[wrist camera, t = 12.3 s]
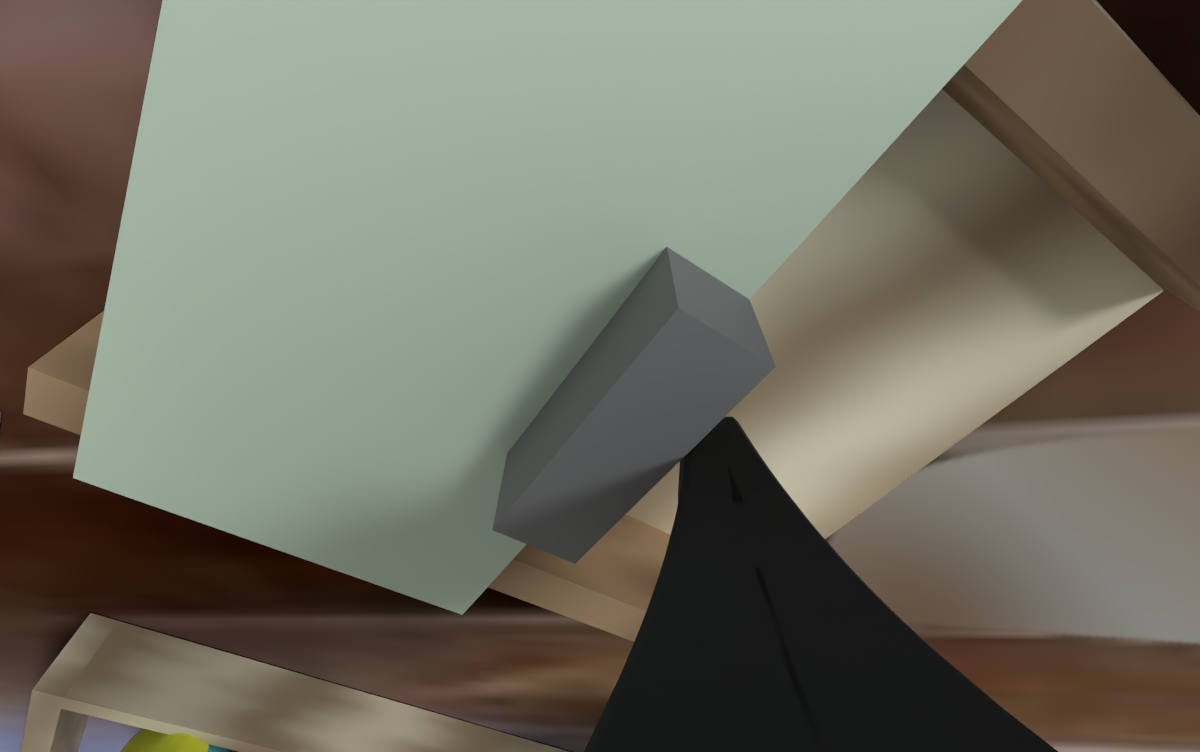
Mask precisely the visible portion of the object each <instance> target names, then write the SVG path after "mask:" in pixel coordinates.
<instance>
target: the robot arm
mask: <svg viewBox="0 0 1200 752" xmlns="http://www.w3.org/2000/svg"><path fill="white" fill-rule="evenodd" d="M584 752H1058V751H1057V750H1055V749H1054V748H1053V747H1051V746H1050V745H1049V744H1048V743H1046V742H1045V741H1044V740H1042V739H1041V738H1040V737H1039V736H1037V735H1036V734H1035V733H1033V732H1032V731H1031V730H1030V729H1028V728H1027V727H1026V726H1024V725H1023V724H1022V723H1021V722H1019V721H1018V720H1017V719H1015V718H1014V717H1013V716H1012V715H1010V714H1009V713H1008V712H1007V711H1005V710H1004V709H1003V708H1002V707H1000V706H999V705H998V704H997V703H996V702H995V701H993V700H992V699H991V698H990V697H989V696H988V695H986V694H985V693H984V692H983V691H982V690H980V689H979V688H978V687H977V686H976V685H975V684H973V683H972V682H971V681H970V680H969V679H968V678H966V677H965V676H964V675H963V674H962V673H961V672H959V671H958V670H957V669H956V668H955V667H953V666H952V665H951V664H950V663H949V662H948V661H946V660H945V659H944V658H943V657H942V656H941V655H939V654H938V653H937V652H936V651H935V650H933V649H932V648H931V647H930V646H929V645H928V644H927V643H926V642H925V641H924V640H923V639H922V638H920V637H919V636H918V635H917V634H916V633H915V632H914V631H913V630H912V629H911V628H910V627H909V626H908V625H907V624H906V623H904V622H903V621H902V620H901V619H900V618H899V617H898V616H897V615H896V614H895V613H894V612H893V611H892V610H891V609H890V608H889V607H888V606H887V605H886V604H885V603H884V602H883V601H882V600H881V599H880V598H879V597H878V596H877V595H876V594H875V593H874V592H873V591H872V590H871V589H870V588H869V587H868V586H867V585H866V584H865V583H864V582H863V581H862V580H861V579H860V578H859V577H858V576H857V575H856V574H855V572H854V571H853V570H852V569H851V568H850V567H849V566H848V565H847V564H846V563H845V562H844V560H843V559H842V558H841V557H840V556H839V555H838V554H837V553H836V552H835V550H834V549H833V548H832V547H831V546H830V545H829V543H828V542H827V541H826V540H825V539H824V538H823V537H822V535H821V534H820V533H819V532H818V531H817V529H816V528H815V527H814V526H813V525H812V523H811V522H810V521H809V520H808V519H807V517H806V516H805V515H804V514H803V512H802V511H801V510H800V508H799V507H798V506H797V505H796V503H795V502H794V501H793V500H792V498H791V497H790V496H789V494H788V493H787V492H786V491H785V489H784V488H783V487H782V485H781V484H780V483H779V481H778V480H777V479H776V477H775V476H774V474H773V473H772V472H771V470H770V469H769V467H768V466H767V465H766V463H765V462H764V460H763V459H762V458H761V456H760V455H759V453H758V452H757V450H756V449H755V447H754V446H753V444H752V443H751V441H750V440H749V438H748V437H747V435H746V433H745V432H744V430H743V429H742V427H741V425H740V424H739V422H738V421H737V420H736V419H735V418H734V417H724V418H723V419H722V420H721V421H720V422H719V423H718V424H717V425H716V426H715V427H714V428H713V429H712V430H711V431H710V432H709V433H708V434H707V435H706V436H705V437H704V438H703V439H702V440H701V441H700V442H699V443H698V444H697V445H696V446H695V447H694V448H693V449H692V450H691V451H690V452H689V453H688V454H687V455H686V456H685V457H684V458H683V459H681V460H680V469H679V484H678V506H677V511H676V516H675V520H674V524H673V527H672V531H671V535H670V539H669V542H668V546H667V550H666V554H665V557H664V561H663V564H662V567H661V570H660V573H659V576H658V579H657V583H656V586H655V588H654V591H653V594H652V597H651V600H650V603H649V605H648V608H647V611H646V614H645V616H644V619H643V621H642V624H641V626H640V629H639V631H638V634H637V637H636V639H635V642H634V644H633V647H632V649H631V652H630V654H629V656H628V659H627V661H626V663H625V666H624V668H623V670H622V673H621V675H620V677H619V679H618V682H617V684H616V686H615V688H614V690H613V692H612V694H611V696H610V699H609V701H608V703H607V705H606V707H605V709H604V711H603V713H602V715H601V718H600V720H599V722H598V724H597V726H596V728H595V730H594V732H593V735H592V737H591V739H590V741H589V743H588V745H587V747H586V749H585V751H584Z"/></svg>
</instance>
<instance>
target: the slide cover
mask: <svg viewBox="0 0 1200 752" xmlns="http://www.w3.org/2000/svg"><path fill="white" fill-rule="evenodd" d="M1021 1H1022V0H163V1H162V7H161V12H160V17H159V23H158V28H157V33H156V39H155V44H154V49H153V55H152V60H151V65H150V71H149V76H148V81H147V86H146V92H145V97H144V102H143V108H142V113H141V118H140V124H139V129H138V134H137V140H136V145H135V150H134V156H133V161H132V166H131V172H130V177H129V182H128V187H127V193H126V198H125V203H124V209H123V214H122V219H121V225H120V230H119V235H118V241H117V246H116V251H115V257H114V262H113V267H112V272H111V278H110V283H109V288H108V294H107V299H106V304H105V310H104V315H103V320H102V326H101V331H100V336H99V342H98V347H97V352H96V358H95V363H94V368H93V373H92V379H91V384H90V389H89V395H88V400H87V405H86V411H85V416H84V421H83V427H82V432H81V437H80V443H79V448H78V453H77V459H76V464H75V469H74V474H73V478H74V479H77V480H80V481H83V482H86V483H89V484H92V485H94V486H97V487H100V488H103V489H106V490H109V491H111V492H114V493H117V494H120V495H123V496H126V497H129V498H131V499H134V500H137V501H140V502H143V503H146V504H148V505H151V506H154V507H157V508H160V509H163V510H166V511H168V512H171V513H174V514H177V515H180V516H183V517H185V518H188V519H191V520H194V521H197V522H200V523H202V524H205V525H208V526H211V527H214V528H217V529H220V530H222V531H225V532H228V533H231V534H234V535H237V536H239V537H242V538H245V539H248V540H251V541H254V542H257V543H259V544H262V545H265V546H268V547H271V548H274V549H276V550H279V551H282V552H285V553H288V554H291V555H294V556H296V557H299V558H302V559H305V560H308V561H311V562H313V563H316V564H319V565H322V566H325V567H328V568H331V569H333V570H336V571H339V572H342V573H345V574H348V575H350V576H353V577H356V578H359V579H362V580H365V581H368V582H370V583H373V584H376V585H379V586H382V587H385V588H387V589H390V590H393V591H396V592H399V593H402V594H405V595H407V596H410V597H413V598H416V599H419V600H422V601H424V602H427V603H430V604H433V605H436V606H439V607H442V608H444V609H447V610H450V611H453V612H456V613H459V614H461V615H463V614H464V612H465V611H466V610H467V609H468V608H469V607H470V606H471V605H472V604H473V603H474V601H475V600H476V599H477V598H478V597H479V596H480V595H481V594H482V593H483V592H484V590H485V589H486V588H487V587H488V586H489V585H490V584H491V583H492V582H493V581H494V580H495V578H496V577H497V576H498V575H499V574H500V573H501V572H502V571H503V570H504V569H505V567H506V566H507V565H508V564H509V563H510V562H511V561H512V560H513V559H514V558H515V556H516V555H517V554H518V553H519V552H520V551H521V550H522V549H523V548H524V547H525V546H526V544H528V545H530V546H532V547H535V548H537V549H540V550H542V551H545V552H547V553H550V554H552V555H555V556H557V557H559V558H562V559H564V560H567V561H569V562H572V563H574V564H576V563H577V562H578V561H579V560H580V559H581V558H582V557H583V556H584V555H585V554H586V553H587V552H588V551H589V550H590V549H591V548H592V547H593V546H594V545H595V544H596V543H597V542H598V541H599V540H600V539H601V538H602V537H603V536H604V535H605V534H606V533H607V532H608V531H609V530H610V529H611V528H612V527H613V526H614V525H615V524H616V523H617V522H618V521H619V520H620V519H621V518H622V517H623V516H624V515H626V514H627V513H628V512H629V511H630V510H631V509H632V508H633V507H634V506H635V505H636V504H637V503H638V502H639V501H640V500H641V499H642V498H643V497H644V496H645V495H646V494H647V493H648V492H649V491H650V490H651V489H652V488H653V487H654V486H655V485H656V484H657V483H658V482H659V481H660V480H661V479H662V478H663V477H664V476H665V475H666V474H667V473H668V472H669V471H670V470H671V469H672V468H673V467H674V466H675V465H676V464H677V463H678V462H679V461H680V460H681V459H683V458H684V457H685V456H686V455H687V454H688V453H689V452H690V451H691V450H692V449H693V448H694V447H695V446H696V445H697V444H698V443H699V442H700V441H701V440H702V439H703V438H704V437H705V436H706V435H707V434H708V433H709V432H710V431H711V430H712V429H713V428H714V427H715V426H716V425H717V424H718V423H719V422H720V421H721V420H722V419H723V418H724V417H725V416H726V415H727V414H728V413H729V412H730V411H731V410H732V409H733V408H734V407H735V406H736V405H737V404H738V403H740V402H741V401H742V400H743V399H744V398H745V397H746V396H747V395H748V394H749V393H750V392H751V391H752V390H753V389H754V388H755V387H756V386H757V385H758V384H759V383H760V382H761V381H762V380H763V379H764V378H765V377H766V376H767V375H768V374H769V373H770V372H771V371H772V370H773V369H774V368H775V367H776V366H775V363H774V361H773V358H772V356H771V353H770V351H769V348H768V345H767V343H766V340H765V338H764V335H763V333H762V330H761V328H760V325H759V322H758V320H757V317H756V315H755V312H754V310H753V307H752V304H751V302H750V299H751V298H752V296H753V295H754V294H755V293H756V292H757V291H758V290H759V289H760V288H761V287H762V285H763V284H764V283H765V282H766V281H767V280H768V279H769V278H770V277H771V276H772V275H773V273H774V272H775V271H776V270H777V269H778V268H779V267H780V266H781V265H782V264H783V262H784V261H785V260H786V259H787V258H788V257H789V256H790V255H791V254H792V253H793V251H794V250H795V249H796V248H797V247H798V246H799V245H800V244H801V243H802V242H803V241H804V239H805V238H806V237H807V236H808V235H809V234H810V233H811V232H812V231H813V230H814V228H815V227H816V226H817V225H818V224H819V223H820V222H821V221H822V220H823V219H824V217H825V216H826V215H827V214H828V213H829V212H830V211H831V210H832V209H833V208H834V207H835V205H836V204H837V203H838V202H839V201H840V200H841V199H842V198H843V197H844V196H845V194H846V193H847V192H848V191H849V190H850V189H851V188H852V187H853V186H854V185H855V183H856V182H857V181H858V180H859V179H860V178H861V177H862V176H863V175H864V174H865V172H866V171H867V170H868V169H869V168H870V167H871V166H872V165H873V164H874V163H875V162H876V160H877V159H878V158H879V157H880V156H881V155H882V154H883V153H884V152H885V151H886V149H887V148H888V147H889V146H890V145H891V144H892V143H893V142H894V141H895V140H896V138H897V137H898V136H899V135H900V134H901V133H902V132H903V131H904V130H905V129H906V128H907V126H908V125H909V124H910V123H911V122H912V121H913V120H914V119H915V118H916V117H917V115H918V114H919V113H920V112H921V111H922V110H923V109H924V108H925V107H926V106H927V104H928V103H929V102H930V101H931V100H932V99H933V98H934V97H935V96H936V95H937V94H938V92H939V91H940V90H941V89H942V88H943V87H944V86H945V85H946V84H947V83H948V81H949V80H950V79H951V78H952V77H953V76H954V75H955V74H956V73H957V72H958V70H959V69H960V68H961V67H962V66H963V65H964V64H965V63H966V62H967V61H968V59H969V58H970V57H971V56H972V55H973V54H974V53H975V52H976V51H977V50H978V49H979V47H980V46H981V45H982V44H983V43H984V42H985V41H986V40H987V39H988V38H989V36H990V35H991V34H992V33H993V32H994V31H995V30H996V29H997V28H998V27H999V25H1000V24H1001V23H1002V22H1003V21H1004V20H1005V19H1006V18H1007V17H1008V16H1009V15H1010V13H1011V12H1012V11H1013V10H1014V9H1015V8H1016V7H1017V6H1018V5H1019V4H1020V2H1021Z"/></svg>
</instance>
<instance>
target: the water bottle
mask: <svg viewBox="0 0 1200 752" xmlns="http://www.w3.org/2000/svg"><path fill="white" fill-rule="evenodd" d="M121 752H238V751H234V750H230V749H226V748H222V747H218V746H214V745H209V744H207V743H205V742H203V741H201V740H199V739H197V738H195V737H193V736H191V735H188V734H182V733H181V734H171V735H168V734H164V733H160V732H156V731H151V730H147V729H142V730H141V731H140V732H139V733H137V734H136V735H135V736H134V737H133V738H132V739H131V740H130V741H129V742H128V743H127V744H126V746H125V747H124V748H123V749H122V751H121Z"/></svg>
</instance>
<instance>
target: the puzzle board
mask: <svg viewBox="0 0 1200 752" xmlns="http://www.w3.org/2000/svg"><path fill="white" fill-rule="evenodd" d="M1163 291H1166V292H1168V293H1169V294H1171V295H1172V296H1174V297H1175V298H1177V299H1179V300H1180V301H1182V302H1183V303H1185V304H1186V305H1188V306H1189V307H1191V308H1193V309H1194V310H1196V311H1197V312H1199V313H1200V116H1199V115H1198V113H1197V112H1196V111H1195V110H1194V109H1193V108H1192V107H1191V106H1190V105H1189V103H1188V102H1187V101H1186V100H1185V99H1184V98H1183V97H1182V96H1181V95H1180V93H1179V92H1178V91H1177V90H1176V89H1175V88H1174V87H1173V86H1172V85H1171V83H1170V82H1169V81H1168V80H1167V79H1166V78H1165V77H1164V76H1163V74H1162V73H1161V72H1160V71H1159V70H1158V69H1157V68H1156V67H1155V66H1154V64H1153V63H1152V62H1151V61H1150V60H1149V59H1148V58H1147V57H1146V56H1145V54H1144V53H1143V52H1142V51H1141V50H1140V49H1139V48H1138V47H1137V45H1136V44H1135V43H1134V42H1133V41H1132V40H1131V39H1130V38H1129V37H1128V35H1127V34H1126V33H1125V32H1124V31H1123V30H1122V29H1121V28H1120V27H1119V25H1118V24H1117V23H1116V22H1115V21H1114V20H1113V19H1112V18H1111V16H1110V15H1109V14H1108V13H1107V12H1106V11H1105V10H1104V9H1103V8H1102V6H1101V5H1100V4H1099V3H1098V2H1097V1H1096V0H1022V1H1021V2H1020V4H1019V5H1018V6H1017V7H1016V8H1015V9H1014V10H1013V11H1012V12H1011V13H1010V15H1009V16H1008V17H1007V18H1006V19H1005V20H1004V21H1003V22H1002V23H1001V24H1000V25H999V27H998V28H997V29H996V30H995V31H994V32H993V33H992V34H991V35H990V36H989V38H988V39H987V40H986V41H985V42H984V43H983V44H982V45H981V46H980V47H979V49H978V50H977V51H976V52H975V53H974V54H973V55H972V56H971V57H970V58H969V59H968V61H967V62H966V63H965V64H964V65H963V66H962V67H961V68H960V69H959V70H958V72H957V73H956V74H955V75H954V76H953V77H952V78H951V79H950V80H949V81H948V83H947V84H946V85H945V86H944V87H943V88H942V89H941V90H940V91H939V92H938V94H937V95H936V96H935V97H934V98H933V99H932V100H931V101H930V102H929V103H928V104H927V106H926V107H925V108H924V109H923V110H922V111H921V112H920V113H919V114H918V115H917V117H916V118H915V119H914V120H913V121H912V122H911V123H910V124H909V125H908V126H907V128H906V129H905V130H904V131H903V132H902V133H901V134H900V135H899V136H898V137H897V138H896V140H895V141H894V142H893V143H892V144H891V145H890V146H889V147H888V148H887V149H886V151H885V152H884V153H883V154H882V155H881V156H880V157H879V158H878V159H877V160H876V162H875V163H874V164H873V165H872V166H871V167H870V168H869V169H868V170H867V171H866V172H865V174H864V175H863V176H862V177H861V178H860V179H859V180H858V181H857V182H856V183H855V185H854V186H853V187H852V188H851V189H850V190H849V191H848V192H847V193H846V194H845V196H844V197H843V198H842V199H841V200H840V201H839V202H838V203H837V204H836V205H835V207H834V208H833V209H832V210H831V211H830V212H829V213H828V214H827V215H826V216H825V217H824V219H823V220H822V221H821V222H820V223H819V224H818V225H817V226H816V227H815V228H814V230H813V231H812V232H811V233H810V234H809V235H808V236H807V237H806V238H805V239H804V241H803V242H802V243H801V244H800V245H799V246H798V247H797V248H796V249H795V250H794V251H793V253H792V254H791V255H790V256H789V257H788V258H787V259H786V260H785V261H784V262H783V264H782V265H781V266H780V267H779V268H778V269H777V270H776V271H775V272H774V273H773V275H772V276H771V277H770V278H769V279H768V280H767V281H766V282H765V283H764V284H763V285H762V287H761V288H760V289H759V290H758V291H757V292H756V293H755V294H754V295H753V296H752V298H751V299H750V302H751V304H752V307H753V310H754V312H755V315H756V317H757V320H758V322H759V325H760V328H761V330H762V333H763V335H764V338H765V340H766V343H767V345H768V348H769V351H770V353H771V356H772V358H773V361H774V363H775V366H776V367H775V368H774V369H773V370H772V371H771V372H770V373H769V374H768V375H767V376H766V377H765V378H764V379H763V380H762V381H761V382H760V383H759V384H758V385H757V386H756V387H755V388H754V389H753V390H752V391H751V392H750V393H749V394H748V395H747V396H746V397H745V398H744V399H743V400H742V401H741V402H740V403H738V404H737V405H736V406H735V407H734V408H733V409H732V410H731V411H730V412H729V413H728V414H727V415H726V416H725V417H734V418H735V419H736V420H737V421H738V422H739V424H740V425H741V427H742V429H743V430H744V432H745V433H746V435H747V437H748V438H749V440H750V441H751V443H752V444H753V446H754V447H755V449H756V450H757V452H758V453H759V455H760V456H761V458H762V459H763V460H764V462H765V463H766V465H767V466H768V467H769V469H770V470H771V472H772V473H773V474H774V476H775V477H776V479H777V480H778V481H779V483H780V484H781V485H782V487H783V488H784V489H785V491H786V492H787V493H788V494H789V496H790V497H791V498H792V500H793V501H794V502H795V503H796V505H797V506H798V507H799V508H800V510H801V511H802V512H803V514H804V515H805V516H806V517H807V519H808V520H809V521H810V522H811V523H812V525H813V526H814V527H815V528H816V529H817V531H818V532H819V533H820V534H821V535H822V537H823V538H824V539H826V538H827V537H829V536H830V535H831V534H833V533H834V532H835V531H837V530H838V529H840V528H841V527H842V526H844V525H845V524H846V523H848V522H849V521H850V520H852V519H853V518H854V517H856V516H857V515H859V514H860V513H861V512H863V511H864V510H865V509H867V508H868V507H870V506H871V505H872V504H873V503H875V502H876V501H878V500H879V499H880V498H882V497H883V496H884V495H886V494H887V493H889V492H890V491H891V490H893V489H894V488H895V487H897V486H898V485H899V484H901V483H902V482H903V481H905V480H906V479H908V478H909V477H910V476H912V475H913V474H915V473H916V472H917V471H919V470H920V469H921V468H923V467H924V466H925V465H927V464H928V463H930V462H931V461H932V460H934V459H935V458H936V457H938V456H939V455H940V454H942V453H943V452H945V451H946V450H947V449H949V448H950V447H951V446H953V445H954V444H955V443H957V442H958V441H960V440H961V439H962V438H964V437H965V436H966V435H968V434H969V433H970V432H972V431H973V430H975V429H976V428H977V427H979V426H980V425H981V424H983V423H984V422H985V421H987V420H988V419H990V418H991V417H992V416H994V415H995V414H996V413H998V412H999V411H1000V410H1002V409H1003V408H1005V407H1006V406H1007V405H1009V404H1010V403H1011V402H1013V401H1014V400H1015V399H1017V398H1018V397H1020V396H1021V395H1022V394H1024V393H1025V392H1026V391H1028V390H1029V389H1030V388H1032V387H1033V386H1035V385H1036V384H1037V383H1039V382H1040V381H1041V380H1043V379H1044V378H1045V377H1047V376H1048V375H1050V374H1051V373H1052V372H1054V371H1055V370H1056V369H1058V368H1059V367H1060V366H1062V365H1063V364H1065V363H1066V362H1067V361H1069V360H1070V359H1071V358H1073V357H1074V356H1075V355H1077V354H1078V353H1080V352H1081V351H1082V350H1084V349H1085V348H1086V347H1088V346H1089V345H1090V344H1092V343H1093V342H1095V341H1096V340H1097V339H1099V338H1100V337H1101V336H1103V335H1104V334H1105V333H1107V332H1108V331H1110V330H1111V329H1112V328H1114V327H1115V326H1116V325H1118V324H1119V323H1120V322H1122V321H1123V320H1125V319H1126V318H1127V317H1129V316H1130V315H1131V314H1133V313H1134V312H1135V311H1137V310H1138V309H1140V308H1141V307H1142V306H1144V305H1145V304H1146V303H1148V302H1149V301H1150V300H1152V299H1153V298H1155V297H1156V296H1157V295H1159V294H1160V293H1161V292H1163ZM103 315H104V311H103V312H101V313H100V314H99V315H97V316H96V317H95V318H93V319H92V320H91V321H89V322H88V323H87V324H85V325H84V326H83V327H81V328H80V329H79V330H77V331H76V332H75V333H73V334H72V335H71V336H69V337H68V338H67V339H65V340H64V341H63V342H61V343H60V344H59V345H57V346H56V347H55V348H53V349H52V350H51V351H49V352H48V353H47V354H45V355H44V356H43V357H41V358H40V359H39V360H37V361H36V362H35V363H33V364H32V365H31V366H29V367H28V374H27V384H26V393H25V402H24V411H23V414H25V415H27V416H30V417H33V418H35V419H38V420H41V421H44V422H46V423H49V424H52V425H54V426H57V427H60V428H62V429H65V430H68V431H70V432H73V433H76V434H78V435H81V432H82V427H83V421H84V416H85V411H86V405H87V400H88V395H89V389H90V384H91V379H92V373H93V368H94V363H95V358H96V352H97V347H98V342H99V336H100V331H101V326H102V320H103ZM679 469H680V461H679V462H678V463H677V464H676V465H675V466H674V467H673V468H672V469H671V470H670V471H669V472H668V473H667V474H666V475H665V476H664V477H663V478H662V479H661V480H660V481H659V482H658V483H657V484H656V485H655V486H654V487H653V488H652V489H651V490H650V491H649V492H648V493H647V494H646V495H645V496H644V497H643V498H642V499H641V500H640V501H639V502H638V503H637V504H636V505H635V506H634V507H633V508H632V509H631V510H630V511H629V512H628V513H627V514H626V515H624V516H623V517H622V518H621V519H620V520H619V521H618V522H617V523H616V524H615V525H614V526H613V527H612V528H611V529H610V530H609V531H608V532H607V533H606V534H605V535H604V536H603V537H602V538H601V539H600V540H599V541H598V542H597V543H596V544H595V545H594V546H593V547H592V548H591V549H590V550H589V551H588V552H587V553H586V554H585V555H584V556H583V557H582V558H581V559H580V560H579V561H578V562H577V563H576V564H574V563H572V562H569V561H567V560H564V559H562V558H559V557H557V556H555V555H552V554H550V553H547V552H545V551H542V550H540V549H537V548H535V547H532V546H530V545H528V544H526V546H525V547H524V548H523V549H522V550H521V551H520V552H519V553H518V554H517V555H516V556H515V558H514V559H513V560H512V561H511V562H510V563H509V564H508V565H507V566H506V567H505V569H504V570H503V571H502V572H501V573H500V574H499V575H498V576H497V577H496V578H495V580H494V581H493V582H492V583H491V584H490V585H489V586H488V587H489V588H491V589H494V590H497V591H499V592H502V593H505V594H507V595H510V596H513V597H515V598H518V599H521V600H524V601H526V602H529V603H532V604H534V605H537V606H540V607H542V608H545V609H548V610H550V611H553V612H556V613H558V614H561V615H564V616H566V617H569V618H572V619H574V620H577V621H580V622H583V623H585V624H588V625H591V626H593V627H596V628H599V629H601V630H604V631H607V632H609V633H612V634H615V635H617V636H620V637H623V638H625V639H628V640H631V641H633V642H635V639H636V637H637V634H638V631H639V629H640V626H641V624H642V621H643V619H644V616H645V614H646V611H647V608H648V605H649V603H650V600H651V597H652V594H653V591H654V588H655V586H656V583H657V579H658V576H659V573H660V570H661V567H662V564H663V561H664V557H665V554H666V550H667V546H668V542H669V539H670V535H671V531H672V527H673V524H674V520H675V516H676V511H677V506H678V484H679Z"/></svg>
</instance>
